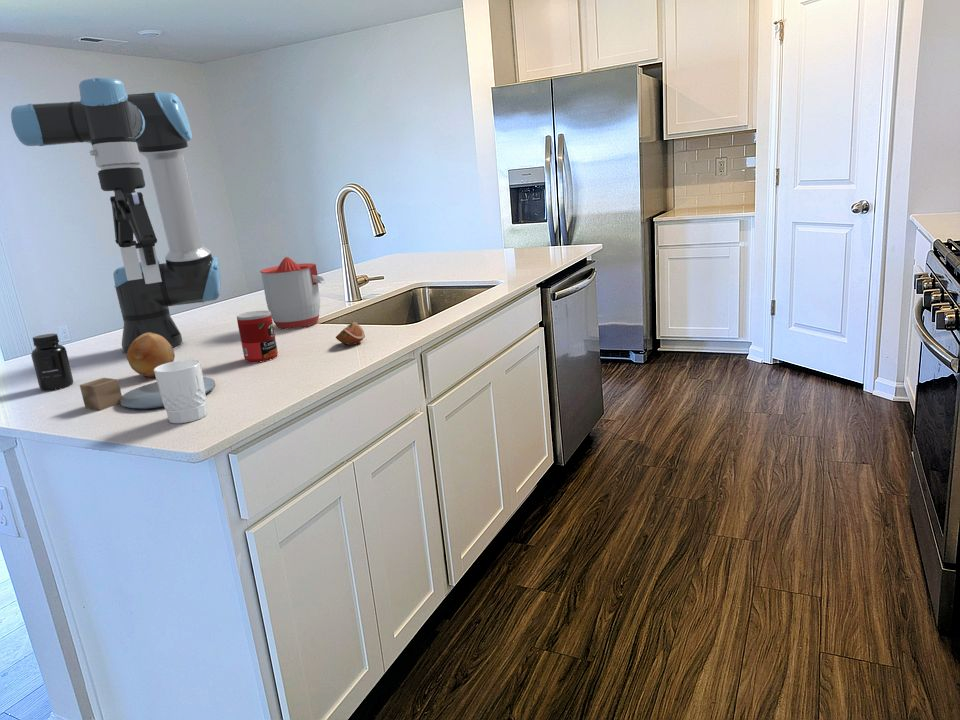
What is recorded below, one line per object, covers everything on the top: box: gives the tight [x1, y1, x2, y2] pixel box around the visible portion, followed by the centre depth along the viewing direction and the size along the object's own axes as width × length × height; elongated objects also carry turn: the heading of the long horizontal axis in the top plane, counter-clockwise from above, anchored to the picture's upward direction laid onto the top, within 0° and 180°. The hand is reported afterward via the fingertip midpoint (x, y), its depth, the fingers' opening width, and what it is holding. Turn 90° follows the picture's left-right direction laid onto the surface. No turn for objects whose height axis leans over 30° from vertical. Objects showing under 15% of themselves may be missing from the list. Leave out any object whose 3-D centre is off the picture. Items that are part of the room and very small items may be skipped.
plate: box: [120, 376, 216, 409], centre depth 142 cm, size 18×18×1 cm
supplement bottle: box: [30, 333, 74, 391], centre depth 156 cm, size 7×7×12 cm
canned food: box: [236, 310, 278, 363], centre depth 164 cm, size 8×8×11 cm
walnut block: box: [79, 377, 123, 411], centre depth 139 cm, size 5×5×5 cm
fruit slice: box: [335, 321, 366, 345], centre depth 171 cm, size 8×7×5 cm
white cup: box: [154, 358, 208, 424], centre depth 126 cm, size 8×8×10 cm
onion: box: [126, 332, 175, 378], centre depth 158 cm, size 10×10×10 cm
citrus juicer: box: [259, 256, 325, 330], centre depth 199 cm, size 16×17×20 cm
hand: (144, 281), depth 134 cm, fingers open, 13 cm apart
